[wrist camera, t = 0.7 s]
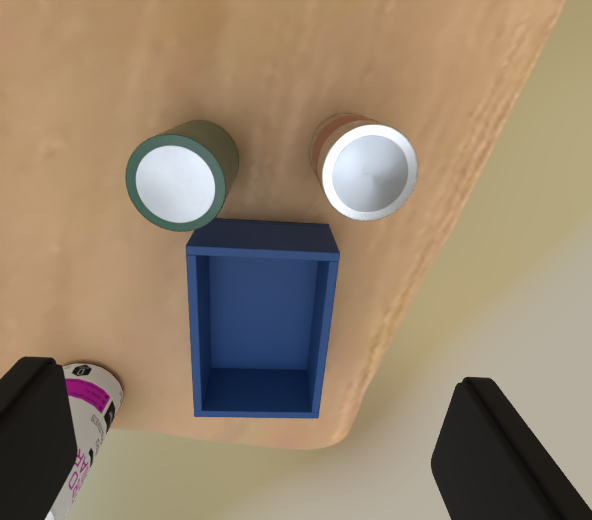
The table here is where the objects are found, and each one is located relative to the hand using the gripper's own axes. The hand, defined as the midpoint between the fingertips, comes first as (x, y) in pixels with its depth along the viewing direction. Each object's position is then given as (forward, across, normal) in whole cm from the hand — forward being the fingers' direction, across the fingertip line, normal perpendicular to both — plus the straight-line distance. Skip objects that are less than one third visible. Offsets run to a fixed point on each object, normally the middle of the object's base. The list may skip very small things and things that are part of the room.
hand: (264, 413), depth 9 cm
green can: (+29, +6, -1) cm, 30 cm away
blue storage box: (+30, 0, +14) cm, 33 cm away
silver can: (+29, -6, -3) cm, 30 cm away
